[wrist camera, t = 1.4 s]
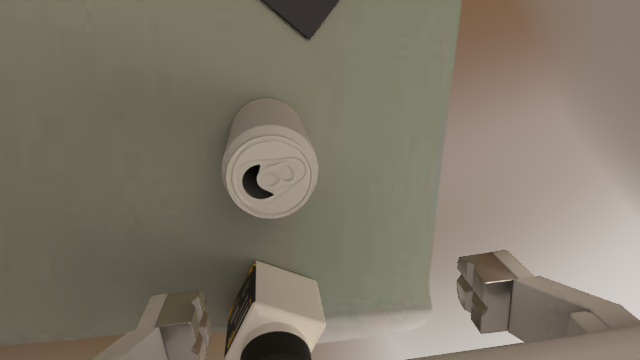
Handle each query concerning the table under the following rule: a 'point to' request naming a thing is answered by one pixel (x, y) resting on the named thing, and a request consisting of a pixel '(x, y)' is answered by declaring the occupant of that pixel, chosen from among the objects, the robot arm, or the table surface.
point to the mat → (303, 13)
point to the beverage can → (269, 160)
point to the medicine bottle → (274, 316)
